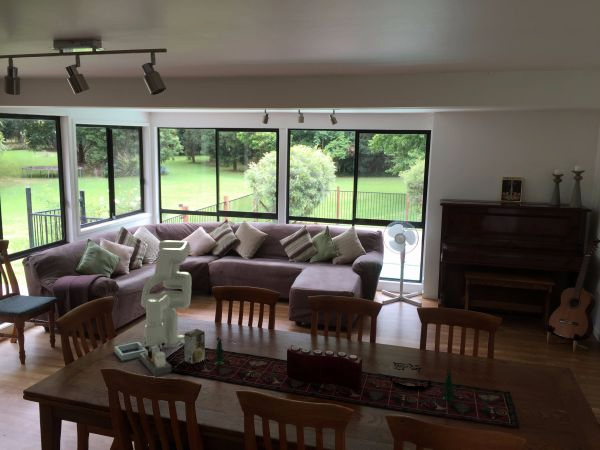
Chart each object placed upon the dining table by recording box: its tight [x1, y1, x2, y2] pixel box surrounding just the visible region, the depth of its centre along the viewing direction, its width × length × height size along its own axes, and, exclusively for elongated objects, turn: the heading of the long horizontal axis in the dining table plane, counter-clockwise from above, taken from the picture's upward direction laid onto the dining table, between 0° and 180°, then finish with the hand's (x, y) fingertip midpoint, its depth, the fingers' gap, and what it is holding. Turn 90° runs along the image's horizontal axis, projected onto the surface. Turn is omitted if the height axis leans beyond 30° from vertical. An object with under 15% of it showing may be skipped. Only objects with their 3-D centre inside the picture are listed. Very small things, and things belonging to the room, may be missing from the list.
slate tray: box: [114, 341, 145, 361], centre depth 272 cm, size 13×13×4 cm
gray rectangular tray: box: [138, 352, 172, 377], centre depth 259 cm, size 8×23×4 cm, turn 36°
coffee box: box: [183, 328, 206, 365], centre depth 266 cm, size 9×6×16 cm
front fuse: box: [155, 351, 166, 368], centre depth 252 cm, size 4×4×9 cm
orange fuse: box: [150, 345, 160, 363], centre depth 258 cm, size 4×4×9 cm
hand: (154, 356), depth 258 cm, fingers closed on orange fuse, 4 cm apart
